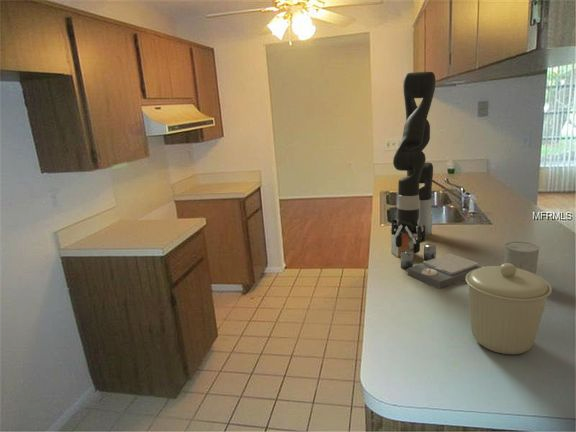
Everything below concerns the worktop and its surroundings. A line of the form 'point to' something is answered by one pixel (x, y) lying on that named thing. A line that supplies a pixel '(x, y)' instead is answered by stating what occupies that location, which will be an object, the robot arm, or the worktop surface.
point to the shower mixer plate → (450, 264)
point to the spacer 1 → (406, 259)
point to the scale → (437, 275)
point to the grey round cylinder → (522, 255)
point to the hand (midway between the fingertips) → (407, 249)
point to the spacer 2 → (429, 251)
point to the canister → (506, 307)
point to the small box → (406, 244)
